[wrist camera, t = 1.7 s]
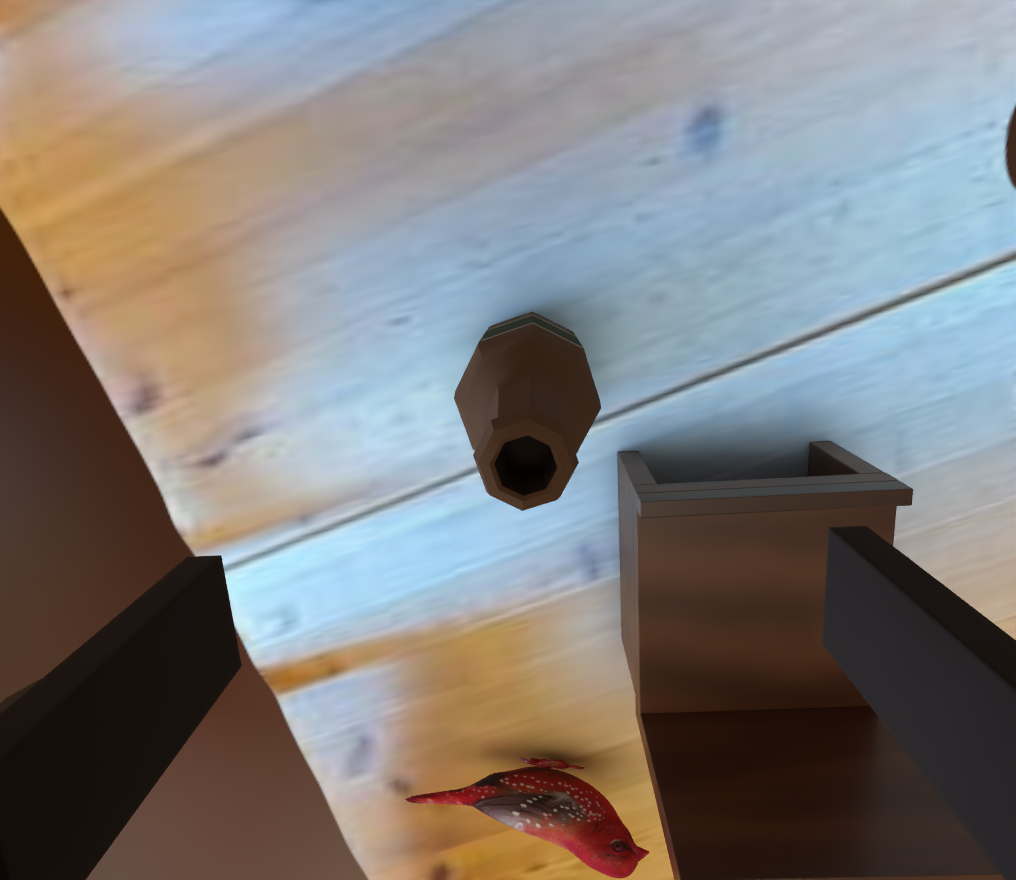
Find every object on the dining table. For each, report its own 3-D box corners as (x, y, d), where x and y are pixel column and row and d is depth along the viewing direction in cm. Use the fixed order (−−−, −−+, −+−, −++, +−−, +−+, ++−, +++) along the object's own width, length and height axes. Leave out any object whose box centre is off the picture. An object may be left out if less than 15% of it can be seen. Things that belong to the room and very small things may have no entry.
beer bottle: (589, 313, 45) (650, 363, 22) (579, 424, 47) (625, 577, 24) (475, 306, 45) (417, 347, 22) (470, 417, 47) (411, 562, 24)
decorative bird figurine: (629, 785, 55) (651, 896, 45) (417, 756, 55) (392, 861, 45) (636, 756, 54) (659, 863, 44) (420, 726, 54) (396, 826, 44)
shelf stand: (617, 451, 48) (681, 589, 27) (831, 440, 47) (1059, 573, 27) (622, 655, 52) (680, 906, 31) (818, 648, 51) (1008, 900, 31)
